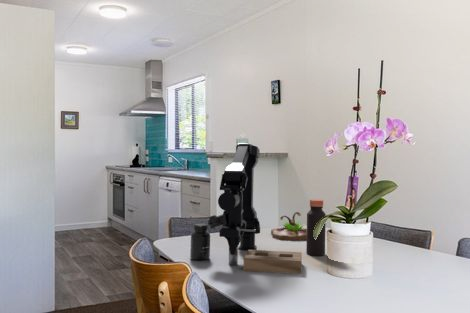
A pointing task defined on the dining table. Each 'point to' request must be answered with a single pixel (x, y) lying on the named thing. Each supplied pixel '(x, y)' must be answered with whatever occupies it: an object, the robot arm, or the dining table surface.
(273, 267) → the peg board
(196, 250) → the supplement bottle
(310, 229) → the vinegar
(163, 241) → the dining table surface
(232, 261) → the peg
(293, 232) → the plant
